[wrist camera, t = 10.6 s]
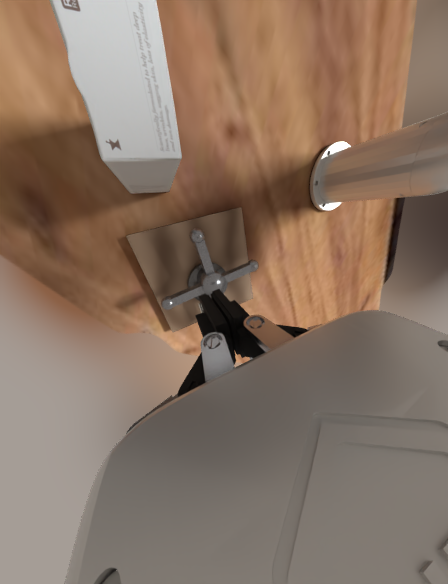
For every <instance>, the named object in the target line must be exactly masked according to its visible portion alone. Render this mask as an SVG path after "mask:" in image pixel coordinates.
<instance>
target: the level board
mask: <svg viewBox="0 0 448 584" xmlns="http://www.w3.org/2000/svg"><path fill="white" fill-rule="evenodd" d="M195 228H199V229H201V230H202V231H203V232H204V235H205V238H204V240H205V243H206V247H207V250H208V253H209V256H210V259H211V262H214V263H216V264H218V265H219V266H221V267H222V268H223V269H224V270H225V271H229V270H231V269H233V268H236V267H238V266H240V265H243V264H245V263H247V262H248V254H247V246H246V238H245V230H244V223H243V215H242V207H240V208H235V209H231V210H227V211H223V212H219V213H215V214H211V215H207V216H203V217H199V218H195V219H191V220H186V221H182V222H178V223H174V224H170V225H166V226H162V227H158V228H154V229H150V230H146V231H142V232H138V233H134V234H130V235H127V236H126V237H127V239H128V241H129V243H130V245H131V248H132V250H133V252H134V254H135V256H136V258H137V260H138V262H139V264H140V266H141V268H142V270H143V272H144V274H145V276H146V279H147V281H148V283H149V285H150V287H151V289H152V291H153V293H154V295H155V297H156V299H157V301H158V303H159V305H160V307H161V309H162V312H163V314H164V316H165V318H166V320H167V322H168V324H169V326H170V328H171V330H172V332H175V331H178V330H180V329H182V328H185V327H187V326H189V325H192V324H194V323H197V319H196V316H195V315H197V314H200V313H203V309H202V306H201V303H200V301H199V300H197V299H195V298H192V299H190V300H188V301H186V302H184V303H181V304H179V305H177V306H175V307H173V308H172V309H170V310H165V309H163V308H162V306H161V300H162V299H163V298H164V297H166V296H171V295H173V294H175V293H178V292H180V291H182V290H185V289H187V288H188V285H187V280H188V276H189V274H190V272H191V270H192V269H193V268H194V267H195V266H197V265H198V264H200V263H201V262H200V259H199V257H198V254H197V251H196V248H195V245H194V243H193V242H192V241H191V240H190V237H189V235H190V232H191V230H193V229H195ZM223 294H224V295H225V296H226V297H227V298H228V299H229V301H230V302H231V301H233V300H235V301H236V302H237V303H238V304H241V303H243V302H246V301H248V300H250V299H253V293H252V285H251V277H250V273H248V274H246V275H244V276H241V277H239V278H237V279H235V280H232V281H230V282H228V285H227V289H226V291H225V292H224V293H223Z"/></svg>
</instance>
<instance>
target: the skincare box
mask: <svg viewBox="0 0 448 584" xmlns="http://www.w3.org/2000/svg"><path fill="white" fill-rule="evenodd" d="M50 3H51V6H52V9H53V12H54V14H55V17H56V20H57V23H58V26H59V29H60V32H61V35H62V38H63V41H64V44H65V47H66V50H67V53H68V62H69V66H70V70H71V73H72V76H73V79H74V81H75V84H76V86H77V88H78V89H79V91H80V93H81V95H82V98H83V101H84V104H85V106H86V109H87V113H88V116H89V119H90V122H91V125H92V128H93V131H94V135H95V138H96V142H97V146H98V150H99V154H100V157H101V159H102V160H103V162H104V163H105V164H106V165H107V166H108V167H109V169H110V170H111V171H112V172H113V173H114V175H115V176H116V177H117V178H118V179H119V180H120V182H121V183H122V184H123V185H124V186H125V188H126V189H127V190H128V191H129V192H130V193H132V194H133V193H155V192H169V191H170V188H171V185H172V183H173V180H174V177H175V174H176V171H177V168H178V166H179V163H180V160H181V159H182V155H181V148H180V141H179V134H178V128H177V121H176V114H175V108H174V102H173V96H172V89H171V83H170V78H169V72H168V66H167V60H166V54H165V48H164V42H163V36H162V30H161V24H160V19H159V13H158V8H157V2H156V0H50Z"/></svg>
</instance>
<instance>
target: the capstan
mask: <svg viewBox="0 0 448 584" xmlns="http://www.w3.org/2000/svg"><path fill="white" fill-rule="evenodd" d="M189 237H190V240H191V241H192V242H193V243H194V245H195V248H196V251H197V254H198V257H199V259H200V262H201V263H200V264H198V265H197V266H195V267H194V268H193V269H192V270H191V272H190V274H189V276H188V280H187V285H188V288H187V289H185V290H182V291H180V292H178V293H175V294H173V295H171V296H166V297H164V298H163V299H162V300H161V306H162V308H163V309H165V310H170V309H172V308H173V307H175V306H177V305H179V304H181V303H184V302H186V301H188V300H190V299H192V298H195V299H197V300H199V296H200V295H203V294H206V295H209V296H210V297H211V293H212V291H214V290H217V289H220V290H221V291H222V293H224V292H225V291H226V289H227V285H228V282H230V281H232V280H235V279H237V278H239V277H241V276H244V275H246V274H248V273H250V272H254V271H256V270H257V269H258V267H259V264H258V262H257V261H256V260H250V261H248V262H247V263H245V264H243V265H240V266H238V267H236V268H233V269H231V270H229V271H225V270H224V269H223V268H222V267H221V266H219V265H218V264H216V263H214V262H211V259H210V256H209V253H208V250H207V247H206V243H205V240H204V238H205V235H204V232H203V231H202V230H201V229H199V228H195V229H193V230H191V232H190V235H189ZM211 299H212V298H211ZM199 301H200V300H199Z"/></svg>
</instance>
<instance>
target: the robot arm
mask: <svg viewBox="0 0 448 584" xmlns="http://www.w3.org/2000/svg"><path fill="white" fill-rule="evenodd" d="M447 190H448V112H446V113H444V114H441V115H438V116H435V117H433V118H430V119H427V120H424V121H422V122H419V123H416V124H413V125H410V126H407V127H405V128H402V129H399V130H396V131H393V132H391V133H388V134H385V135H382V136H379V137H377V138H374V139H371V140H368V141H365V142H363V143H360V144H357V145H354V146H351V147H350V145H349V144H347V143H346V142H343V141H339V142H336V143H333V144H331V145H329V146H328V147H327V148H325V149H324V150H323V152H322V153H321V154H320V156H319V157H318V159H317V161H316V163H315V165H314V168H313V171H312V174H311V179H310V194H311V199H312V202H313V204H314V205H315V207H316V208H317V209H319V210H321V211H330V210H333V209H335V208H336V207H338V206H339V205H340V204H341V203H342V202H351V201H363V200H375V199H387V198H398V197H409V196H423V195H430V194H431V195H432V194H437V193H441V192H444V191H447ZM211 298H212V299H211ZM199 300H200V303H201V306H202V309H203V313H200V314H197V315H195V316H196V319H197V322H198V325H199V327H200V330H201V333H202V335H203V339H202V341H201V351H202V352H201V354H200V356H199V357H198V359H197V361H196V362H195V364H194V365H193V367H192V369H191V370H190V372H189V374H188V375H187V377H186V379H185V380H184V382H183V384H182V385H181V387H180V389H179V391H178V394H176V395H175V396H174V397H173V396H170V397H169V398H167V399H166V400H165V401H163V402H162V403H161V404H159V405H158V406H157V407H155V408H154V409H153V410H151V411H150V412H149V413H147V414H146V415H145V416H143V417H142V418H141V419H139V420H138V421H137V422H135V423H134V424H133V425H132V426H131V427H130V428H129V430H128V431H127V433H126V435H125V436H124V437H123V438H122V439H121V440H120V441H119V442H118V443H117V444H116V446H115V447H114V448H113V449H112V450H111V451H110V453H109V454H108V456H107V457H106V458H105V460H104V461H103V463H102V465H101V467H100V469H99V471H98V473H97V475H96V478H95V480H94V482H93V485H92V488H91V490H90V493H89V496H88V499H87V502H86V506H85V509H84V512H83V515H82V519H81V523H80V526H79V530H78V533H77V537H76V540H75V544H74V548H73V552H72V556H71V560H70V564H69V568H68V572H67V576H66V580H65V583H64V584H448V335H446V334H443V333H441V332H439V331H436V330H434V329H432V328H429V327H427V326H424V325H422V324H419V323H417V322H414V321H412V320H409V319H406V318H404V317H401V316H398V315H395V314H392V313H389V312H385V311H379V310H366V311H358V312H353V313H349V314H346V315H343V316H340V317H338V318H335V319H333V320H331V321H328V322H326V323H324V324H320V325H316V326H312V327H308V330H307V329H304V328H299V327H291V326H283V325H275V324H274V323H272V322H271V321H269V320H268V319H266V318H265V317H263V316H261V315H251V316H249V314H248V313H247V312H246V311H245V310H244V309H243V308H242V307H241V306H240V305H239V304H238V303H237V302H236V301H235V300H233V301H231V302H230V301H229V299H228V298H227V297H226V296H225V295H224V294H223V293H222V291H221V290H220V289H217V290H214V291H212V293H211V297H210V296H209V295H206V294H203V295H200V296H199ZM234 350H235V352H236V354H237V355H238V354H240V355H241V357H242V358H243V357H245V356H246V357H250V360H249V361H247V362H245V363H243V364H241V365H239V366H237V367H236V368H235V367H234V364H235V362H236V358H235V352H234ZM116 570H117V571H116Z"/></svg>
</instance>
